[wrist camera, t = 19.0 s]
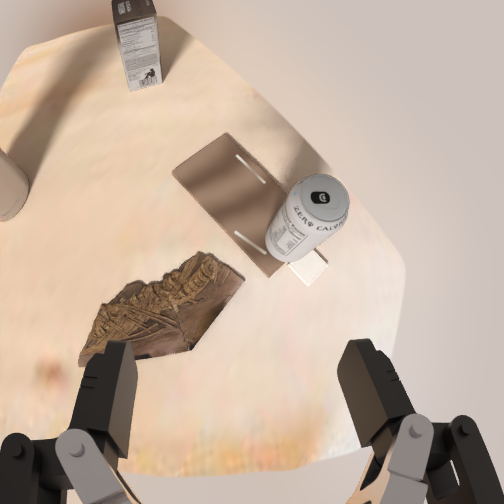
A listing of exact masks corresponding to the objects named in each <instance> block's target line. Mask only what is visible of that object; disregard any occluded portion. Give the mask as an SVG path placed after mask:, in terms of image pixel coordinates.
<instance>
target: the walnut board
mask: <svg viewBox="0 0 504 504" xmlns="http://www.w3.org/2000/svg"><path fill="white" fill-rule="evenodd" d="M172 175H173V176H174V177H175V178H176V179H177V180H178V181H179V182H180V183H181V185H182V186H183V187H184V188H185V189H186V190H187V191H188V192H189V193H190V194H191V195H192V196H193V197H194V198H195V200H196V201H197V202H198V203H199V204H200V205H201V206H202V207H203V208H204V209H205V210H206V211H207V212H208V214H209V215H210V216H211V217H212V218H213V219H214V220H215V221H216V222H217V223H218V224H219V225H220V226H221V227H222V229H223V230H224V231H225V232H226V233H227V234H228V235H229V236H230V237H231V238H232V239H233V240H234V241H235V242H236V244H237V245H238V246H239V247H240V248H241V249H242V250H243V251H244V252H245V253H246V254H247V255H248V256H249V257H250V258H251V260H252V261H253V262H254V263H255V264H256V265H257V266H258V267H259V268H260V269H261V270H262V271H263V272H264V273H265V274H266V276H267V277H268V278H269V277H270V276H271V275H272V274H273V273H274V272H276V271H277V270H278V269H279V268H280V267H281V266H282V265H283V264H284V263H285V262H282V261H280V260H278V259H276V258H275V257H273V256H272V255H271V254H270V252H269V251H268V249H267V246H266V242H265V236H266V232H267V229H268V228H269V226H270V224H271V222H272V221H273V219H274V217H275V216H276V214H277V212H278V211H279V209H280V207H281V206H282V204H283V202H284V201H285V199H286V197H287V196H288V195H287V194H286V193H285V192H284V191H283V190H282V189H281V188H280V187H279V186H278V185H277V184H276V183H275V182H274V181H273V180H272V179H271V178H270V177H269V176H268V175H267V174H266V173H265V172H264V171H263V170H262V169H261V168H260V167H259V166H258V165H257V164H256V163H255V162H254V161H253V160H251V159H250V158H249V157H248V156H247V155H246V154H245V153H244V152H243V151H242V150H241V149H240V148H239V147H238V146H237V145H236V144H235V143H234V142H232V141H231V140H230V139H229V138H228V137H227V136H226V135H225V134H224V135H223V136H221V137H220V138H218V139H217V140H215V141H214V142H213V143H211V144H210V145H208V146H207V147H205V148H204V149H202V150H201V151H200V152H198V153H197V154H195V155H194V156H193V157H191V158H190V159H188V160H187V161H186V162H184V163H183V164H181V165H180V166H179V167H177V168H176V169H175V170H173V171H172Z"/></svg>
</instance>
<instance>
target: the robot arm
mask: <svg viewBox="0 0 504 504" xmlns="http://www.w3.org/2000/svg"><path fill="white" fill-rule="evenodd" d="M28 190H29V181H28V178H27V176H26V174H25V173H24V172H23V171H22V170H21V169H20V168H19V167H18V166H17V165H16V164H15V163H14V162H13V161H12V160H11V159H10V158H9V157H8V156H7V154H6V153H5V152H4V151H3V150H2V149H1V148H0V221H6V220H9V219H11V218H12V217H14V216H15V215H16V214H17V213H18V212H19V211H20V209H21V208H22V206H23V205H24V203H25V201H26V198H27V195H28ZM337 375H338V380H339V383H340V385H341V388H342V391H343V394H344V397H345V400H346V403H347V406H348V408H349V411H350V414H351V417H352V420H353V423H354V426H355V429H356V432H357V435H358V438H359V441H360V444H361V447H362V448H363V447H368V446H372V448H373V452H372V453H371V455H370V458H369V460H368V463H367V465H366V467H365V470H364V472H363V474H362V477H361V479H360V481H359V484H358V486H357V488H356V490H355V492H354V493H353V495H352V496H351V497H350V498H349V500H348V501H347V502H346V504H423V503H424V500H425V497H426V499H427V503H428V504H504V494H503V491H502V488H501V485H500V482H499V479H498V477H497V474H496V471H495V468H494V466H493V463H492V461H491V458H490V456H489V453H488V451H487V448H486V446H485V443H484V441H483V439H482V436H481V434H480V432H479V429H478V427H477V425H476V423H475V422H474V420H473V419H472V418H470V417H468V416H466V415H460V416H457V417H456V418H454V419H453V420H452V422H450V423H432V422H430V420H429V419H428V418H426V417H425V416H423V415H421V414H417V413H416V412H415V410H414V408H413V406H412V404H411V402H410V399H409V397H408V395H407V393H406V391H405V389H404V387H403V385H402V383H401V381H399V377H398V375H397V373H396V372H395V369H394V367H393V365H392V363H391V361H390V359H389V358H388V357H387V356H386V355H385V354H384V353H383V352H382V351H381V350H379V351H376V349H375V347H374V345H373V343H372V341H371V340H370V339H368V338H366V339H356V340H350V341H349V342H348V344H347V346H346V348H345V351H344V353H343V355H342V357H341V360H340V362H339V364H338V368H337ZM137 380H138V372H137V365H136V362H135V358H134V355H133V351H132V348H131V344H130V342H129V341H121V340H108V342H107V345H106V348H105V351H104V354H102V353H95V354H94V355H93V356H92V358H91V359H90V360H89V361H88V362H87V364H86V368H85V371H84V374H83V378H82V381H81V385H80V386H81V387H80V388H79V392H78V395H77V399H76V403H75V407H74V411H73V415H72V419H71V422H70V425H69V427H68V429H67V430H66V431H64V432H63V433H62V434H61V435H60V436H59V437H57V438H54V439H45V440H30V439H29V438H28V437H27V436H26V435H24V434H21V433H12V434H10V435H8V436H7V437H6V438H5V439H4V440H3V442H2V445H1V450H0V504H66V501H67V490H69V489H75V491H76V492H77V494H78V496H79V498H80V499H81V501H82V503H83V504H142V503H141V501H140V500H139V498H138V497H137V496H136V494H135V493H134V492H133V490H132V489H131V488H130V486H129V485H128V483H127V482H126V480H125V479H124V478H123V476H122V475H121V473H120V472H119V470H118V469H117V467H118V457H119V458H125V459H127V457H128V447H129V438H130V430H131V422H132V415H133V407H134V400H135V394H136V387H137ZM451 460H452V461H453V464H454V467H455V470H456V473H457V476H458V479H459V485H458V483H457V480H456V477H455V474H454V471H453V468H452V465H451V462H450V461H451Z"/></svg>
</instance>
